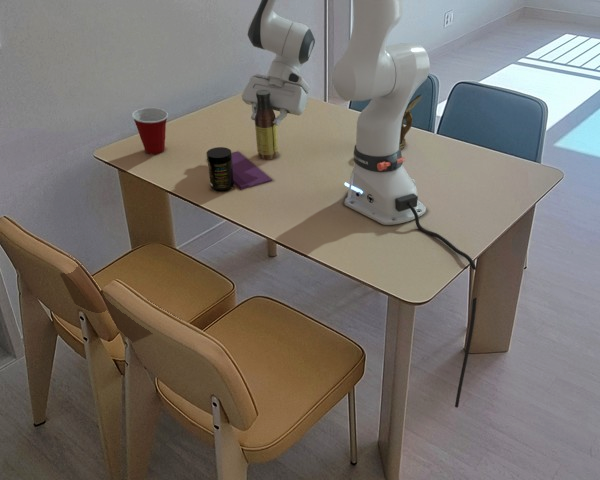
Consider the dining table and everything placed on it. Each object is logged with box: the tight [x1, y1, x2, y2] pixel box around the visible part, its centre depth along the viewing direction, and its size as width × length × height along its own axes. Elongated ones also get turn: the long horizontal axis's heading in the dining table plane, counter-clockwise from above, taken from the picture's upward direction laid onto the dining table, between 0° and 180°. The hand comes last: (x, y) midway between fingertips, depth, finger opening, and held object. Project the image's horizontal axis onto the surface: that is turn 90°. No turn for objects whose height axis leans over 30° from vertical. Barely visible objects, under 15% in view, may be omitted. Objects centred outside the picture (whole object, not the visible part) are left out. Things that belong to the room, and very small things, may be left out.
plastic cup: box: [131, 107, 169, 155], centre depth 199 cm, size 11×11×12 cm
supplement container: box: [206, 146, 235, 193], centre depth 179 cm, size 7×7×10 cm
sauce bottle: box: [254, 90, 279, 160], centre depth 192 cm, size 7×6×20 cm
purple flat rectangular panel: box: [231, 151, 273, 190], centre depth 191 cm, size 22×10×1 cm, turn 30°
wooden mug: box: [399, 93, 422, 151], centre depth 196 cm, size 9×14×18 cm, turn 51°
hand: (264, 122), depth 191 cm, fingers closed on sauce bottle, 6 cm apart
